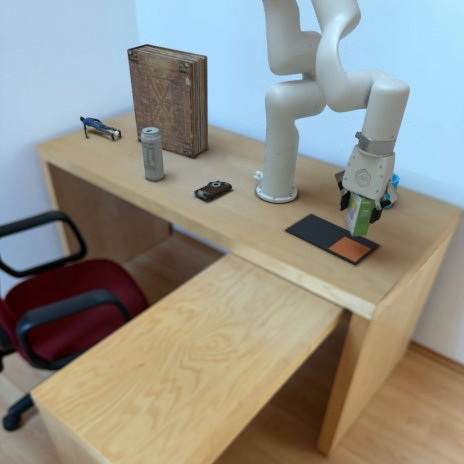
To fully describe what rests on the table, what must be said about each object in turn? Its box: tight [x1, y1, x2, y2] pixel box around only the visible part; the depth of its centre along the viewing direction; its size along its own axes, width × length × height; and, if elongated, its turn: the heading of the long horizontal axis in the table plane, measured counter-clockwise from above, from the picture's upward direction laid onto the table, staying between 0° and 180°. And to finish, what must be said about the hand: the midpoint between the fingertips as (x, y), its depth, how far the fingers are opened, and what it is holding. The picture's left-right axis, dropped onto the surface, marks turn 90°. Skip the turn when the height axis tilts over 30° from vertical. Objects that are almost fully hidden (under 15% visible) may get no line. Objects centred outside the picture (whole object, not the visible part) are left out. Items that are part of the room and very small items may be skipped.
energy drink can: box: [140, 127, 165, 182], centre depth 135 cm, size 6×6×15 cm
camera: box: [193, 180, 233, 201], centre depth 133 cm, size 6×3×11 cm
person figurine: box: [79, 116, 122, 142], centre depth 163 cm, size 11×4×18 cm
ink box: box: [344, 191, 375, 237], centre depth 105 cm, size 7×4×13 cm, turn 5°
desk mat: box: [285, 213, 380, 266], centre depth 118 cm, size 22×12×1 cm, turn 47°
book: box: [126, 43, 209, 159], centre depth 149 cm, size 25×9×30 cm, turn 57°
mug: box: [375, 172, 401, 210], centre depth 132 cm, size 12×8×8 cm
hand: (358, 214), depth 107 cm, fingers closed on ink box, 7 cm apart
